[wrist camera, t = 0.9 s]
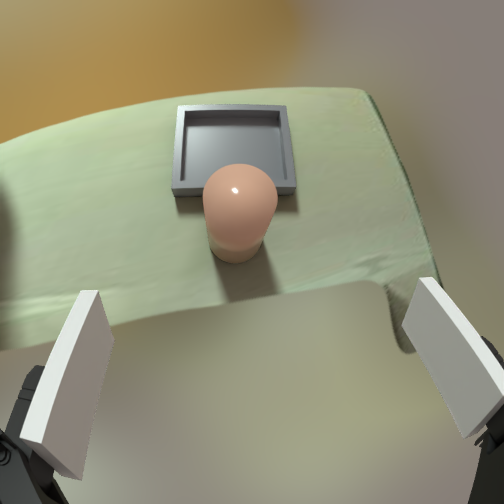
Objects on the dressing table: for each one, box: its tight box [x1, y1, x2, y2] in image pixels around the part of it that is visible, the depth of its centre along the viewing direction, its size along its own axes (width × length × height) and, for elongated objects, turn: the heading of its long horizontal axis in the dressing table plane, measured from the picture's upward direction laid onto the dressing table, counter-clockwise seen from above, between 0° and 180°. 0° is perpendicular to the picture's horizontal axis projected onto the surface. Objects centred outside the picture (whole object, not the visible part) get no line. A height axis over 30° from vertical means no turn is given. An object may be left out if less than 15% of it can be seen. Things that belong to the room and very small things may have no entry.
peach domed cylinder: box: [203, 164, 278, 263], centre depth 33 cm, size 6×6×12 cm
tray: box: [171, 104, 296, 197], centre depth 40 cm, size 15×13×2 cm
